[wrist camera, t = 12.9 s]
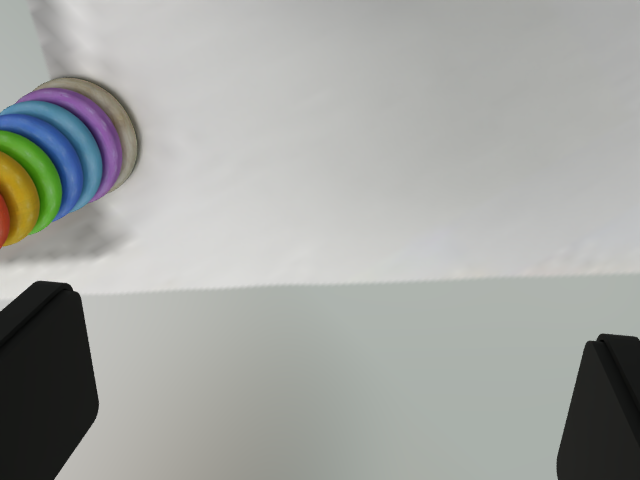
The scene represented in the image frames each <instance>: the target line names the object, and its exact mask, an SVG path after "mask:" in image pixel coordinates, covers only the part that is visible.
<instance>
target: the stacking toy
mask: <svg viewBox="0 0 640 480" xmlns="http://www.w3.org/2000/svg"><path fill="white" fill-rule="evenodd" d="M136 156H137V139H136V135H135V131H134V128H133V125H132V123H131V121H130V118H129V116H128V115H127V113H126V111H125V110H124V108H123V107H122V106H121V104H120V103H119V102H118V101H117V100H116V99H115V98H114V97H113V96H112V95H111V94H110V93H108V92H107V91H106V90H104V89H103V88H101V87H99V86H97V85H95V84H93V83H91V82H88V81H85V80H81V79H76V78H59V79H54V80H51V81H48V82H46V83H43V84H42V85H40V86H38V87H37V88H36V89H35V90H33V91H32V92H30V93H28V94H27V95H25V96H23V97H22V98H21V99H19V100H18V101H17V102H16V103H15V104H14V105H12V106H9V107H7V108H6V109H4V110H3V111H2V112H1V113H0V248H1V247H2V246H8V245H11V244H14V243H17V242H19V241H20V240H22V239H23V238H25V237H26V236H27V235H31V234H34V233H37V232H39V231H41V230H42V229H44V228H45V227H47V226H48V225H49V224H50V223H51V222H53V221H56V220H58V219H60V218H62V217H64V216H65V215H66V214H68V213H71V212H74V211H76V210H78V209H80V208H82V207H83V206H84V205H86V204H87V203H90V202H93V201H95V200H97V199H99V198H101V197H102V196H104V195H105V194H107V193H110V192H112V191H114V190H115V189H117V188H118V187H119V186H121V185H122V184H123V183H124V182H125V181H126V179H127V178H128V177H129V175H130V174H131V172H132V170H133V167H134V165H135V161H136Z"/></svg>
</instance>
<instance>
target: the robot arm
mask: <svg viewBox="0 0 640 480" xmlns="http://www.w3.org/2000/svg"><path fill="white" fill-rule="evenodd" d="M98 408H99V400H98V394H97V389H96V383H95V377H94V371H93V365H92V359H91V353H90V347H89V342H88V336H87V330H86V324H85V319H84V312H83V307H82V301H81V297H80V295H79V293H78V292H75V291H73V288H72V287H71V285H69V284H67V283H59V282H49V281H37V282H35V283H33V284H32V285H31V286H30V287H28V288H27V289H26V290H25V291H24V292H23V293H21V294H20V295H19V296H18V297H17V298H16V299H14V300H13V301H12V302H11V303H10V304H9V305H8V306H6V307H5V308H4V309H3V310H2V311H0V480H54V479H55V477H56V476H57V475H58V473H59V472H60V470H61V469H62V467H63V466H64V464H65V463H66V461H67V460H68V458H69V457H70V456H71V454H72V453H73V451H74V450H75V448H76V447H77V446H78V444H79V443H80V441H81V440H82V438H83V437H84V435H85V434H86V433H87V431H88V430H89V428H90V427H91V425H92V424H93V422H94V421H95V419H96V416H97V413H98ZM557 476H558V480H640V340H639V339H638V338H637V337H633V336H623V335H613V334H600V335H599V336H598V338H597V340H596V341H588V342H587V343H586V345H585V348H584V351H583V355H582V360H581V364H580V368H579V371H578V375H577V380H576V384H575V387H574V391H573V396H572V399H571V403H570V408H569V412H568V416H567V420H566V424H565V428H564V432H563V436H562V440H561V444H560V448H559V452H558V456H557Z"/></svg>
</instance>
